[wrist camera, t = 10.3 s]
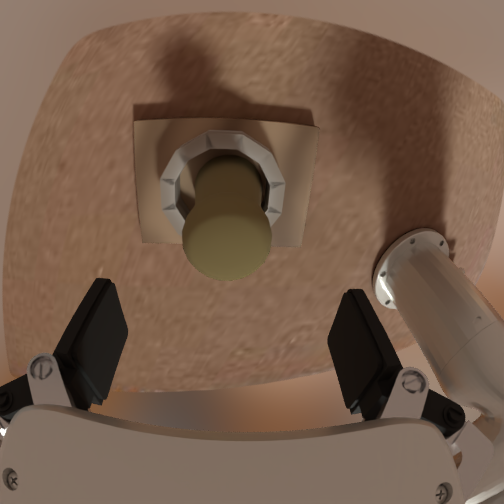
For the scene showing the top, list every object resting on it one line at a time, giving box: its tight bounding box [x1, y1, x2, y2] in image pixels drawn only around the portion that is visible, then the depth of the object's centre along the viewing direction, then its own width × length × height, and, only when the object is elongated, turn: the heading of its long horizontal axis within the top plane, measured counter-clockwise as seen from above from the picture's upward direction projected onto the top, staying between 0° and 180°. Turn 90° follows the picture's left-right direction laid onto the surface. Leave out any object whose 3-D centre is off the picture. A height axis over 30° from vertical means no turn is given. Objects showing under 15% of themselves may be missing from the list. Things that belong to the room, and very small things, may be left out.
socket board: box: [134, 118, 320, 247], centre depth 23 cm, size 16×12×4 cm
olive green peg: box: [182, 155, 272, 281], centre depth 19 cm, size 6×6×11 cm
